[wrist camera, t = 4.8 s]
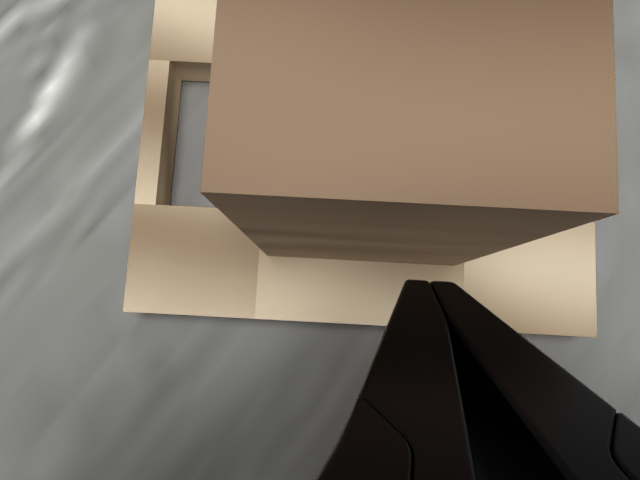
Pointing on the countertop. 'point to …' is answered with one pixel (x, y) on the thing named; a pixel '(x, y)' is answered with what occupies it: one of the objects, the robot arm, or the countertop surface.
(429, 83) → the walnut block
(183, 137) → the countertop surface
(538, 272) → the trap lane
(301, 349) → the countertop surface
